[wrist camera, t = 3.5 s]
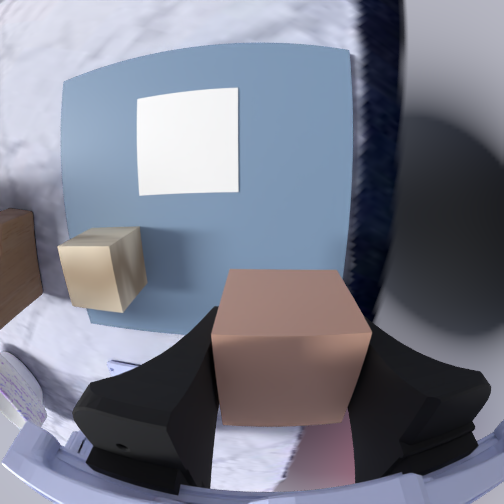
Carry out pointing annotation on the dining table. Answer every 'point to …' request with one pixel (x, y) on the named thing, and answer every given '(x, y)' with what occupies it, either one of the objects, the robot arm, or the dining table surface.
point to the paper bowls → (20, 393)
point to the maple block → (104, 268)
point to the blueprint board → (211, 167)
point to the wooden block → (17, 263)
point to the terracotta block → (287, 347)
